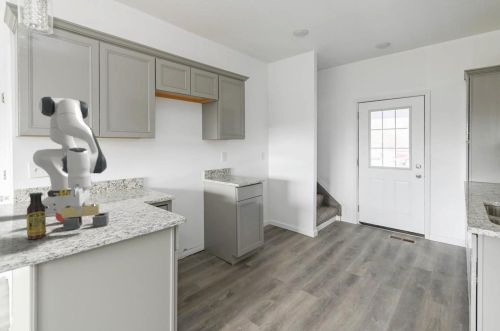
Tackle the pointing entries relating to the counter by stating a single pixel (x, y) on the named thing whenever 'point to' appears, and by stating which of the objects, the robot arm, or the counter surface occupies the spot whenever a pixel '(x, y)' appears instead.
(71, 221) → the chain end left
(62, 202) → the french fries container
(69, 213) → the link
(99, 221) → the chain end right
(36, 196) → the sauce bottle
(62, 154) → the robot arm
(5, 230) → the counter surface
